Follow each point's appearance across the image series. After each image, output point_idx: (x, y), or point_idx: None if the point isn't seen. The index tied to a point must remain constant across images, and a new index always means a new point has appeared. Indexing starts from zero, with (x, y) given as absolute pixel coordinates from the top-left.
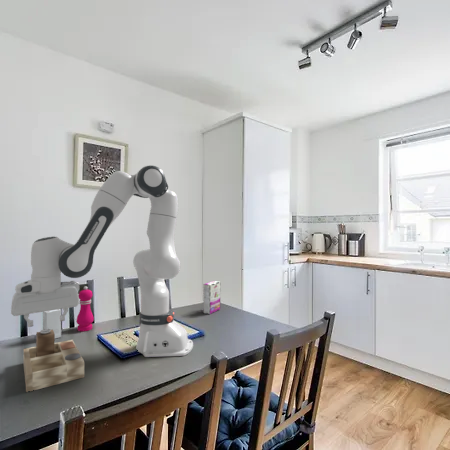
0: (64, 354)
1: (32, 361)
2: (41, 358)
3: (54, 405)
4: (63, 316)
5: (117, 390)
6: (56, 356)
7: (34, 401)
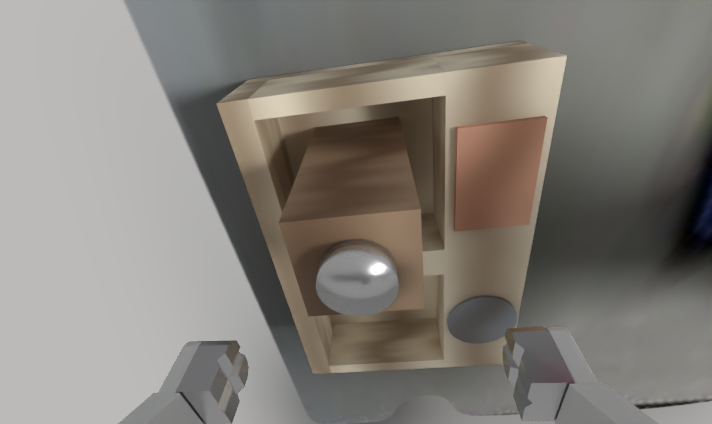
0: (453, 281)
1: None
2: None
3: (393, 387)
4: (561, 418)
5: None
6: None
7: None
